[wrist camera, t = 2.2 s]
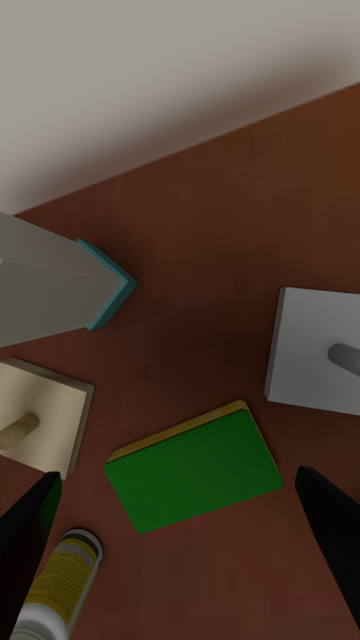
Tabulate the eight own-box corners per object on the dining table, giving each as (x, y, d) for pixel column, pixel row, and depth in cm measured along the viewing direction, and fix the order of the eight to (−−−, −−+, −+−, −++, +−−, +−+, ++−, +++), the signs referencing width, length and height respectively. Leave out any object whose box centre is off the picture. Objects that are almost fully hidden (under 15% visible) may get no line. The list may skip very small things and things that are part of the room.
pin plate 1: (94, 386, 22) (65, 408, 17) (74, 468, 23) (42, 509, 18) (11, 357, 23) (-38, 371, 18) (-5, 437, 24) (-54, 470, 19)
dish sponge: (112, 449, 23) (101, 467, 20) (242, 396, 20) (247, 409, 18) (144, 511, 23) (137, 536, 21) (277, 465, 21) (285, 487, 18)
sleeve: (138, 283, 20) (13, 258, 7) (104, 327, 21) (-63, 374, 8) (94, 245, 20) (-103, 157, 8) (62, 290, 21) (-165, 280, 8)
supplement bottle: (58, 525, 24) (-23, 646, 16) (101, 528, 23) (40, 656, 15) (64, 566, 24) (-12, 706, 16) (106, 570, 24) (50, 717, 15)
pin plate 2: (401, 300, 18) (466, 301, 13) (377, 410, 19) (429, 446, 14) (280, 287, 19) (302, 285, 14) (263, 393, 20) (279, 420, 15)
